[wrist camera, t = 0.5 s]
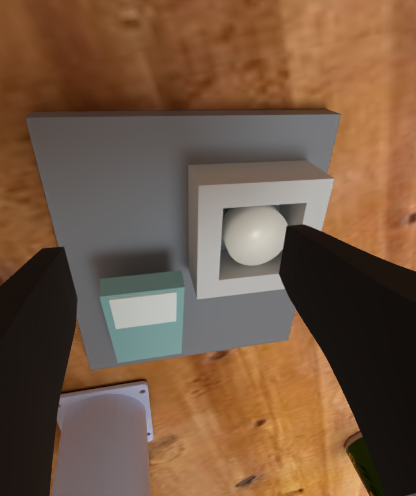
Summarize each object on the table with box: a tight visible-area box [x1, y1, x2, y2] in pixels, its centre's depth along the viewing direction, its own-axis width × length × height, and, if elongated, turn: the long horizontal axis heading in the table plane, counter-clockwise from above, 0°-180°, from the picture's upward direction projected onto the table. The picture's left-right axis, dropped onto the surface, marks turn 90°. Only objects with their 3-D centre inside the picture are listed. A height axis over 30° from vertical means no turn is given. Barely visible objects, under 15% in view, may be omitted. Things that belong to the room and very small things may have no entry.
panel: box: [25, 109, 341, 370], centre depth 21 cm, size 18×16×4 cm
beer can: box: [345, 432, 385, 496], centre depth 40 cm, size 5×5×12 cm
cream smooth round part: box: [221, 205, 288, 266], centre depth 19 cm, size 4×4×2 cm
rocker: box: [99, 271, 185, 363], centre depth 21 cm, size 8×4×1 cm, turn 179°
